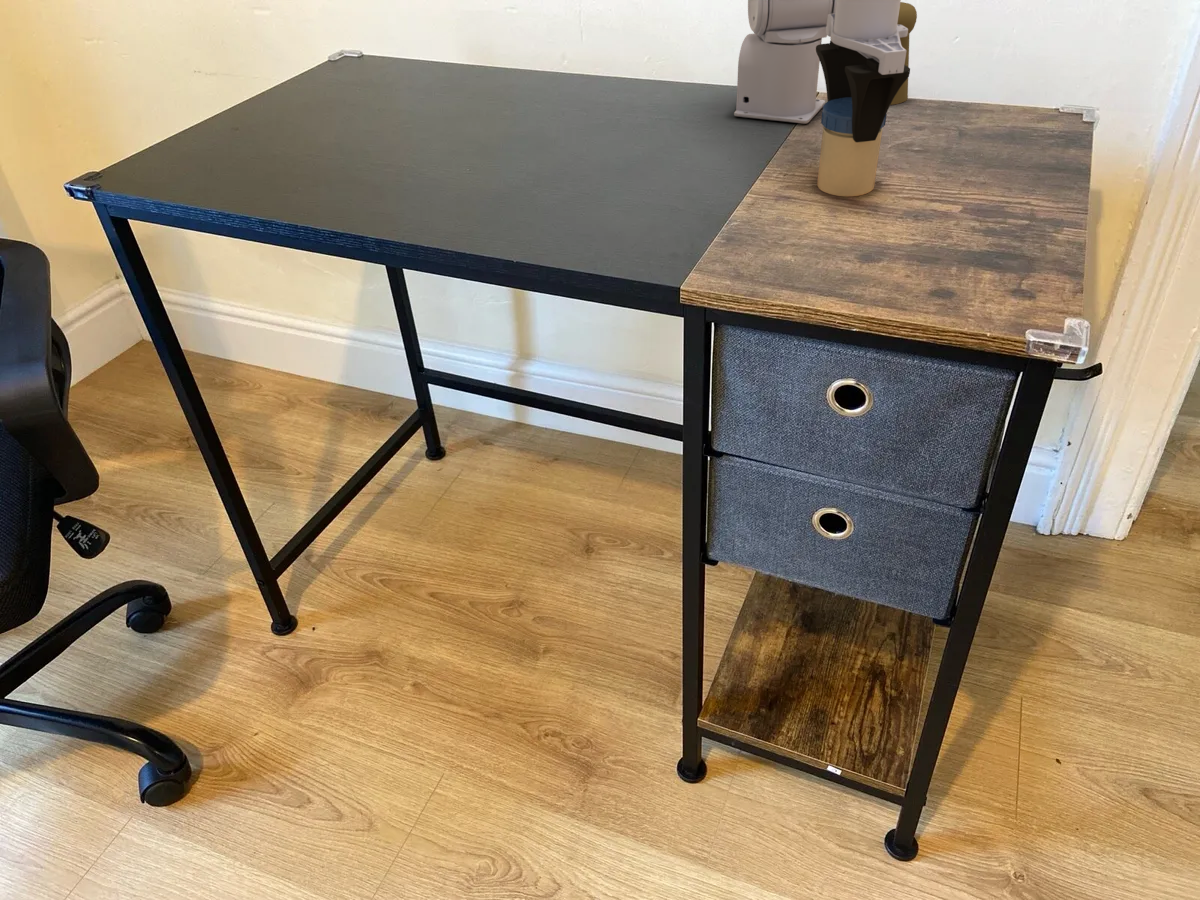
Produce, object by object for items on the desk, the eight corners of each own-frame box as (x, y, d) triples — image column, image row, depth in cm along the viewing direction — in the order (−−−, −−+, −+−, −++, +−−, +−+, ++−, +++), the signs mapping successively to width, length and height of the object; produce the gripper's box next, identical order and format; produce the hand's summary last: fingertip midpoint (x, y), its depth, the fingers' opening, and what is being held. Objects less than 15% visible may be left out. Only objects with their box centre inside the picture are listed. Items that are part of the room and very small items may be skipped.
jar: (811, 192, 91) (818, 120, 86) (824, 172, 95) (831, 102, 90) (867, 199, 89) (878, 125, 84) (879, 178, 93) (889, 106, 88)
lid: (895, 130, 86) (897, 113, 85) (833, 137, 85) (835, 120, 84) (870, 110, 90) (872, 94, 89) (812, 116, 90) (814, 100, 89)
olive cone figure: (909, 105, 110) (924, 9, 103) (859, 104, 111) (871, 10, 104) (906, 89, 114) (920, -3, 107) (858, 89, 115) (869, -3, 108)
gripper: (949, -9, 74) (921, 150, 83) (881, -41, 85) (863, 102, 94) (869, -1, 74) (849, 158, 82) (811, -34, 85) (799, 109, 93)
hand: (852, 129), depth 88 cm, fingers closed on lid, 6 cm apart
